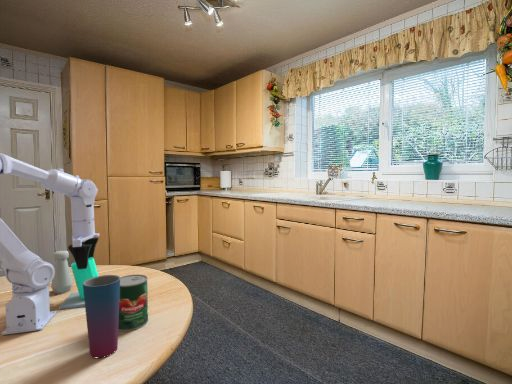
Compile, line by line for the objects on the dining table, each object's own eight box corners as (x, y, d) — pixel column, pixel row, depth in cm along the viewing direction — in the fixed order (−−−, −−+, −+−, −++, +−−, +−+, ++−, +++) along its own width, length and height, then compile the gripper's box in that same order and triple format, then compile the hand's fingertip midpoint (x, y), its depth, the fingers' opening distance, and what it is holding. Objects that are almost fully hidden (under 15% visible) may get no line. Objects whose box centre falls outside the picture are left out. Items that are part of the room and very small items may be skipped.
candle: (96, 296, 83) (85, 257, 82) (76, 300, 83) (64, 261, 81) (106, 287, 89) (95, 250, 88) (87, 291, 89) (76, 254, 87)
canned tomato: (126, 334, 66) (125, 287, 65) (107, 325, 70) (105, 281, 69) (155, 320, 73) (154, 277, 72) (135, 312, 77) (134, 272, 76)
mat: (99, 304, 82) (99, 302, 82) (59, 309, 79) (59, 306, 79) (107, 291, 91) (107, 289, 91) (71, 295, 88) (71, 293, 88)
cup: (127, 341, 63) (125, 274, 62) (113, 360, 56) (110, 286, 56) (96, 342, 63) (93, 275, 62) (77, 361, 56) (75, 286, 55)
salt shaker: (77, 288, 95) (75, 249, 94) (64, 295, 89) (62, 253, 88) (60, 287, 95) (59, 249, 95) (46, 294, 89) (45, 253, 89)
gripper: (92, 223, 78) (94, 271, 79) (103, 215, 92) (105, 257, 93) (62, 224, 76) (65, 274, 77) (78, 217, 90) (81, 259, 91)
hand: (85, 265), depth 85 cm, fingers closed on candle, 6 cm apart
